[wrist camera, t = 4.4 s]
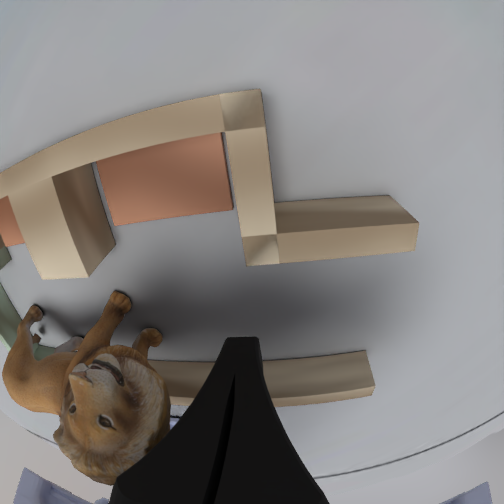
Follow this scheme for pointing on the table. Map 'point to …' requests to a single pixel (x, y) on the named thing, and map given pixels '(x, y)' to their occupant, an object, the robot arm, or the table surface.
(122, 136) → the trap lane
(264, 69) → the table surface
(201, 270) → the table surface
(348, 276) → the table surface
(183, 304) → the table surface
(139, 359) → the lion figurine
